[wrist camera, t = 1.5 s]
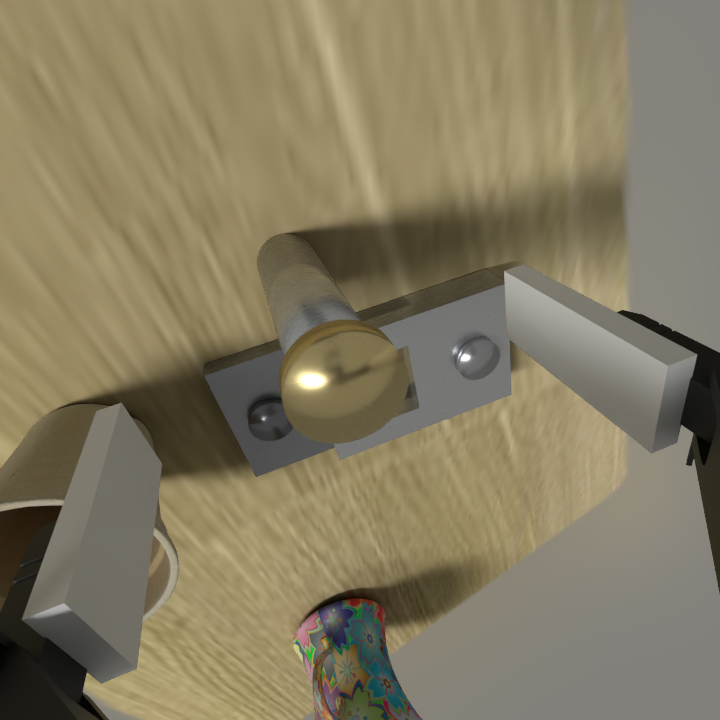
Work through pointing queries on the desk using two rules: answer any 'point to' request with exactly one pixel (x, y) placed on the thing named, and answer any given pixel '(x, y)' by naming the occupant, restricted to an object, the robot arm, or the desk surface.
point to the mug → (351, 663)
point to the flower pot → (63, 498)
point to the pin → (327, 349)
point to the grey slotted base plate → (420, 352)
